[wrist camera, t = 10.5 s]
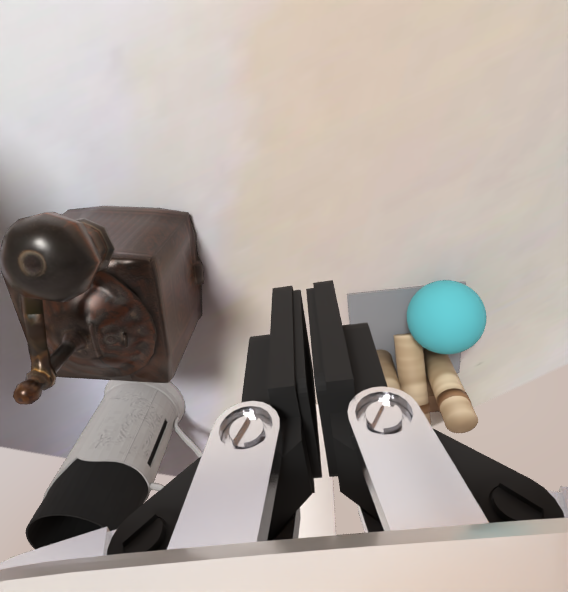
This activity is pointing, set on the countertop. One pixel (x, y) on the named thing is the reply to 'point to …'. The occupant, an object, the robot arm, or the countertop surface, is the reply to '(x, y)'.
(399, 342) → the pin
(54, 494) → the glass holder
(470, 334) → the ball
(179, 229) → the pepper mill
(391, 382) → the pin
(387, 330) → the pin deck mark
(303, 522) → the milk
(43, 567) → the robot arm
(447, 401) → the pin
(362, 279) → the countertop surface
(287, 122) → the countertop surface
